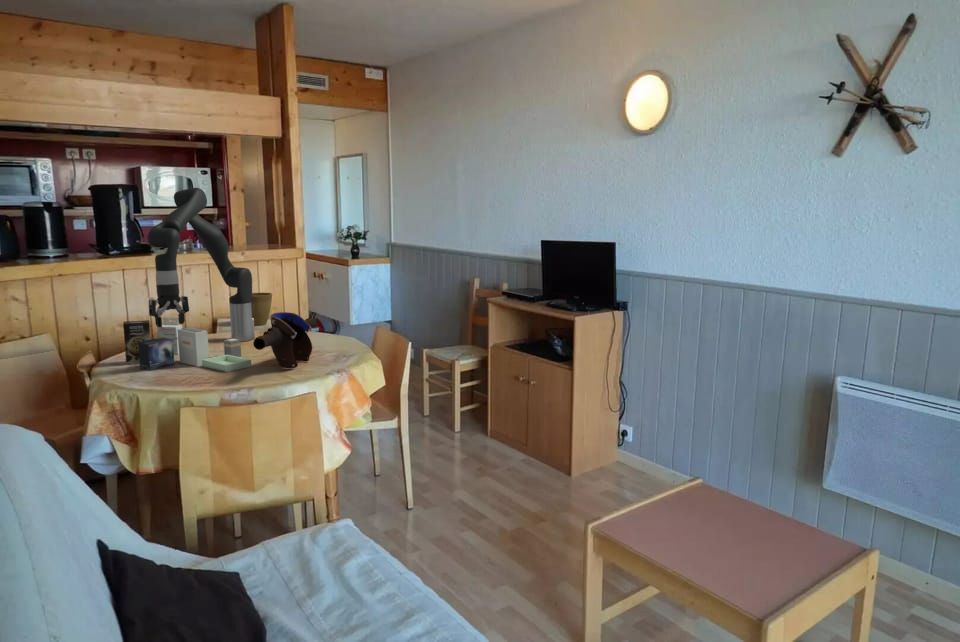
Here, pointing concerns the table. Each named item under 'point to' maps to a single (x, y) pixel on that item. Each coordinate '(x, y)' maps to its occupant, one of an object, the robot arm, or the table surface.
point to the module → (232, 347)
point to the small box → (156, 353)
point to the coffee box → (135, 339)
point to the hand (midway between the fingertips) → (170, 325)
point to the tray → (226, 363)
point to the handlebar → (288, 338)
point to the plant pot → (260, 307)
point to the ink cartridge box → (170, 332)
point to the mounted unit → (193, 346)
